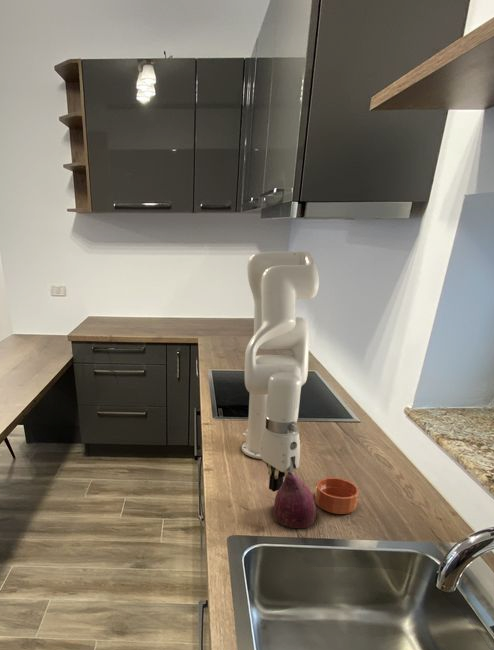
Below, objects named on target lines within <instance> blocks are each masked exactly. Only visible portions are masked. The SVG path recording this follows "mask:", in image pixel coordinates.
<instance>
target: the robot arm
mask: <svg viewBox="0 0 494 650" xmlns="http://www.w3.org/2000/svg"><path fill="white" fill-rule="evenodd" d="M246 266H247V267H246V269H247V270H246V272H247V280H248V284H249V288H250V291H251V294H252V297H253V302H254V303H253V305H254V309H253V310H254V311H253V319H254V320H253V335H252V337H251V338H250V340H249V342H248V344H247V345H246V348H245V353H244V386H245V389H246V391H247V392H248V393H249V400H248V418H247V429H245V432H243V433H242V435H241V436H242V437H243V438H244V439H245V442H243V443H242V445H241V451H242V453H244V454H245V455H246V456H248V457H250V458H253V459H258V460H261V461H262V462H263V463H264V464H265V465H266V467H267V474H268V475H269V481H268V490H270V491H271V492H273V493H274V492H278V490H279V489H280V487H281V485H282V484H283V482H284V478H285V477H286V474H287V473H288V471H290V472H292V473H294V474H295V472H294V469H295V470H297V469H299V467H300V457H301V442H300V434H299V432H298V431H299V427H298V421H299V420H298V419H299V413H300V412H299V410H300V402H301V401H300V400H301V391H302V386H304V385H305V384H306V382H307V379H308V374H309V355H310V354H309V352H310V327H309V324H308V322H307V320H306V319H305V318H302V317H299V316H296V300H311V299H314V298H315V297H316V296H317V294H318V291H319V288H320V275H319V270H318V267H317V264H316V262H315V261H314V258H313V257H312V255H311V253H309V252H307V251H262V252H257V253H254V254H252V255H250V257H249V258H248V260H247V265H246ZM259 349H260V350H270V351H290V352H291V354H278V353H275V354H274V353H273V354H272V353H270V354H269V353H267V354H258V355H257V352H258V350H259Z"/></svg>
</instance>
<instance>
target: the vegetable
mask: <svg viewBox="0 0 494 650" xmlns="http://www.w3.org/2000/svg"><path fill="white" fill-rule="evenodd" d="M316 517H317V508H316V502H315V497H314V495H313V493H312V491H311V489H310V488H309V486H308V485H307V484H306V483H305V482H304V481H303V480H302V479H301V478H300V477H299V476H298V475H297V474H296V473H295V472H294V473H292V472H290V471H288V473H287V474H286V477H284V479H283V484H282V485H281V487H280V489H279V490H277V491H276V494H275V497H274V502H273V519H274V520H275V522H277V523H278V524H280V525H283V526H284V527H287V528H290V529H307V528H309V527H311V526H312V525H314V523H315V521H316Z"/></svg>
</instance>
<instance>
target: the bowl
mask: <svg viewBox="0 0 494 650" xmlns="http://www.w3.org/2000/svg"><path fill="white" fill-rule="evenodd" d="M359 495H360V490H359V487H358V486H357V485H356V484H355V483H354V482H351V481H350V480H347V479H344V478H341V477H333V476H332V477H324V478H321V479H320V480H318V481H317V482H316V487H315V495H314V502H315V505H316V506H318V507H319V508H320V509H322V510H323V511H325V512H327V513H332V514H336V515H346V514H350V513H352V512H353V513H354V511H355V510H356V509H357V507H358V501H359Z"/></svg>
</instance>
